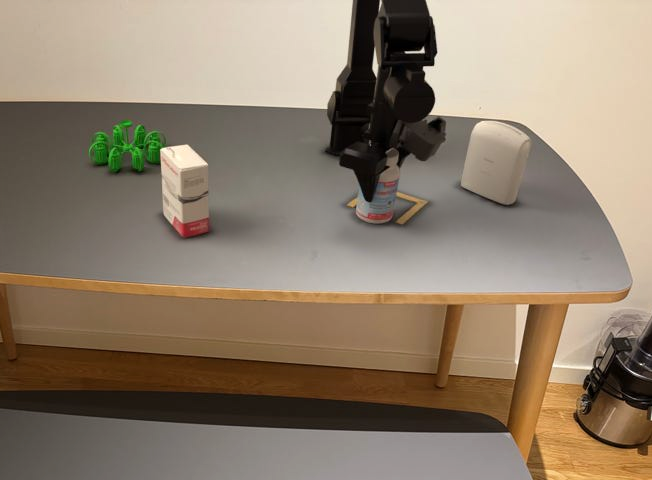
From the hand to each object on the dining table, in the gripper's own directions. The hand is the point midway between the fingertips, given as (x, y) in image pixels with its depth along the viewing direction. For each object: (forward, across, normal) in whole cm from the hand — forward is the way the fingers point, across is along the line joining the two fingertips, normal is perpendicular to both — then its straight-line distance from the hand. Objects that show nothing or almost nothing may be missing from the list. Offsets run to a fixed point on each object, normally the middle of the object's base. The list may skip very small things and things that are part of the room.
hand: (378, 194), depth 120 cm
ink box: (+5, -21, +23) cm, 32 cm away
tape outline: (+4, +4, 0) cm, 6 cm away
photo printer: (+4, +19, -12) cm, 23 cm away
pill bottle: (+4, 0, 0) cm, 4 cm away
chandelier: (+4, -9, +47) cm, 48 cm away
